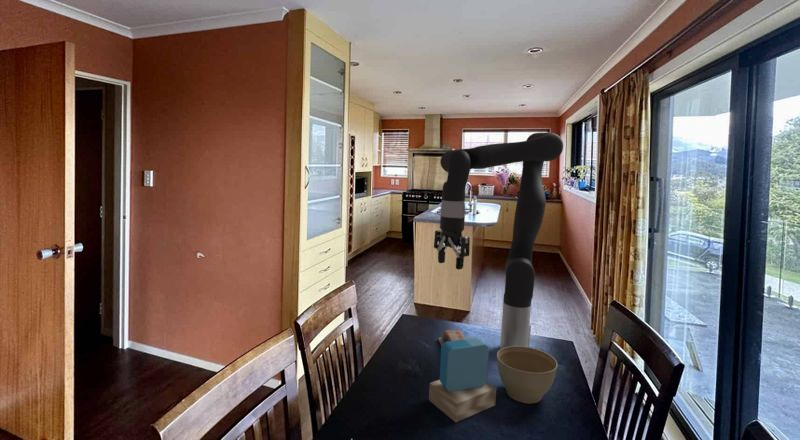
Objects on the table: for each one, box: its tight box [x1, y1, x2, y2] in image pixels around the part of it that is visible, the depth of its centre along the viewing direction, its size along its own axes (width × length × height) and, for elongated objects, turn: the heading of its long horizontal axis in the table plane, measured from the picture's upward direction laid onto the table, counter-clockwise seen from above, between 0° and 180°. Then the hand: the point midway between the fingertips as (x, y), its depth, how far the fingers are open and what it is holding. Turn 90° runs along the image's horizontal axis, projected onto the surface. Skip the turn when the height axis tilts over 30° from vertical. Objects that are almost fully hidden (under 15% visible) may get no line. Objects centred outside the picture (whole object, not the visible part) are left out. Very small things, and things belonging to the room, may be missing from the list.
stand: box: [428, 379, 497, 423], centre depth 107 cm, size 14×11×5 cm
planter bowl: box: [496, 346, 558, 404], centre depth 112 cm, size 16×16×11 cm
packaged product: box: [438, 329, 467, 348], centre depth 137 cm, size 18×5×10 cm
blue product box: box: [439, 337, 490, 392], centre depth 106 cm, size 12×4×12 cm, turn 109°
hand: (450, 265), depth 126 cm, fingers open, 8 cm apart
